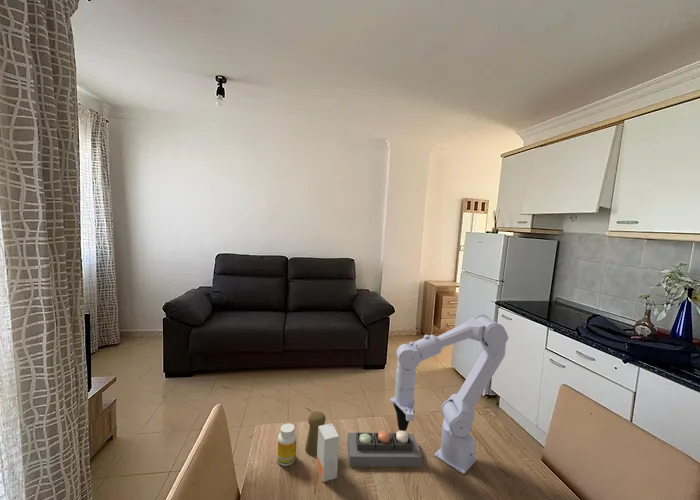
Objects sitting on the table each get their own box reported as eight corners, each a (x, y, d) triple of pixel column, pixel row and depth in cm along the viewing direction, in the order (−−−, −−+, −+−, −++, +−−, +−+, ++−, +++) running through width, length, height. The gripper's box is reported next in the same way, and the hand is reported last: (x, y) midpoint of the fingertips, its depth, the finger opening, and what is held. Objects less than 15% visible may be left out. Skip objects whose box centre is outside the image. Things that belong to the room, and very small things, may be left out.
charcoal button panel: (412, 442, 97) (413, 428, 96) (421, 466, 87) (422, 451, 86) (347, 441, 95) (348, 427, 95) (349, 466, 85) (350, 450, 85)
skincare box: (315, 466, 85) (317, 425, 84) (330, 462, 86) (332, 422, 86) (322, 483, 79) (324, 439, 78) (337, 478, 81) (339, 436, 80)
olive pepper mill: (315, 459, 87) (317, 423, 86) (301, 449, 91) (302, 414, 90) (329, 448, 92) (331, 413, 91) (315, 439, 95) (316, 405, 95)
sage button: (370, 438, 92) (370, 433, 92) (371, 446, 89) (372, 441, 88) (358, 438, 92) (358, 433, 92) (359, 446, 88) (360, 441, 88)
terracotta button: (388, 435, 92) (388, 430, 92) (390, 443, 89) (391, 438, 89) (376, 435, 92) (377, 430, 92) (378, 443, 89) (379, 438, 89)
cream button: (406, 435, 93) (406, 430, 93) (409, 444, 89) (409, 438, 89) (394, 435, 93) (395, 430, 93) (397, 443, 89) (397, 438, 89)
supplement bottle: (275, 454, 88) (276, 423, 87) (293, 451, 90) (295, 420, 89) (277, 468, 83) (279, 435, 82) (297, 464, 85) (298, 431, 84)
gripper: (387, 373, 97) (384, 414, 98) (397, 398, 82) (394, 446, 83) (408, 374, 97) (406, 414, 98) (422, 399, 83) (419, 446, 84)
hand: (402, 429), depth 91 cm, fingers closed
